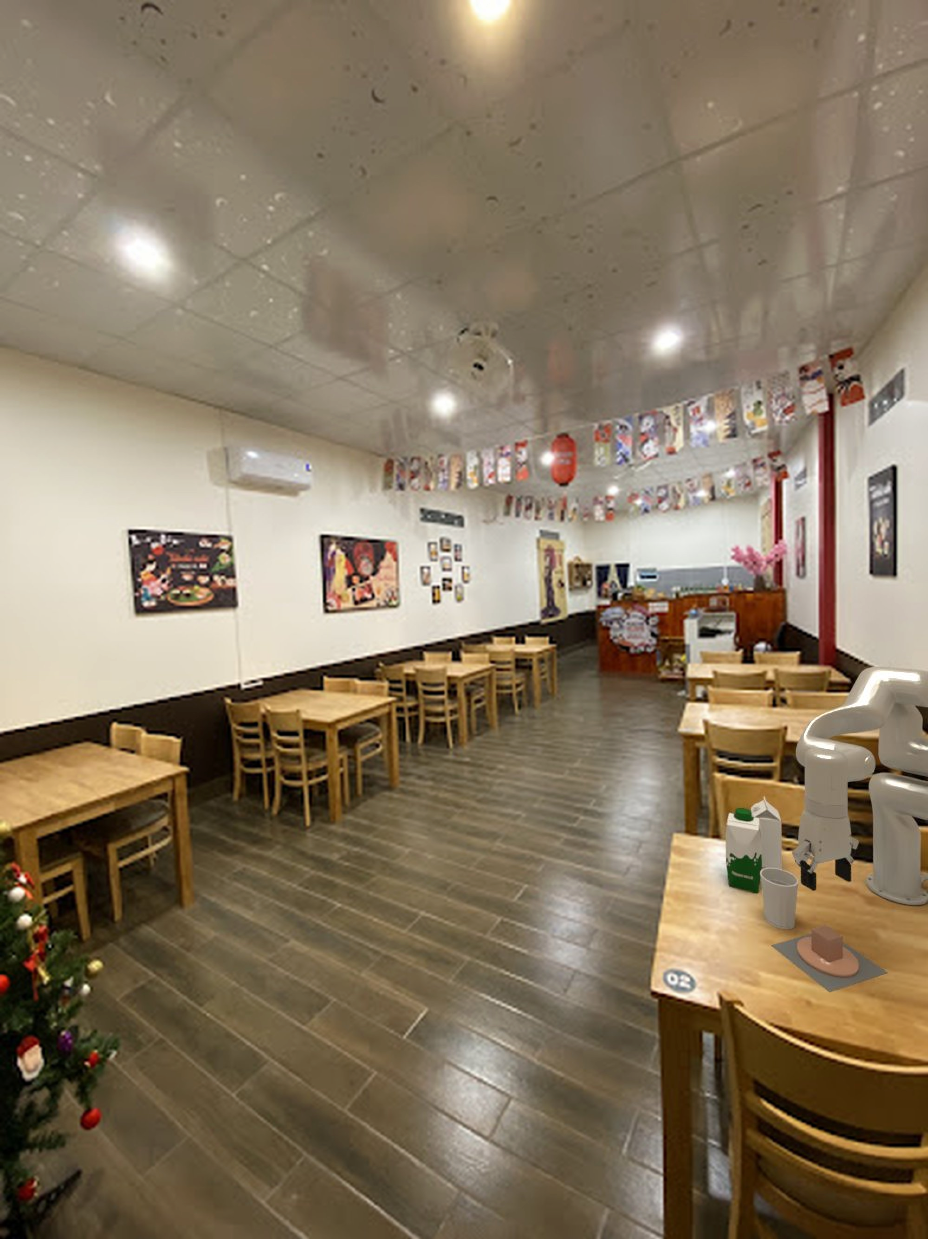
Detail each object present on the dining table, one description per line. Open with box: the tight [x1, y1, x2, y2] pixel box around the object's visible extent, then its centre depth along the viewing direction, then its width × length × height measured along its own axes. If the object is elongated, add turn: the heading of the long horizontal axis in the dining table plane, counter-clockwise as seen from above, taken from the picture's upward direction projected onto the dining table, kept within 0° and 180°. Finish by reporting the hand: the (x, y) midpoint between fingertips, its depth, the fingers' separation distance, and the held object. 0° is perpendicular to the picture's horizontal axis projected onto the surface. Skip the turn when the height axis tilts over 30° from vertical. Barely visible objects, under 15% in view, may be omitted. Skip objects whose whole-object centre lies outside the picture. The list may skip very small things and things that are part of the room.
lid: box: [797, 924, 859, 978], centre depth 110 cm, size 11×11×6 cm
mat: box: [770, 933, 889, 993], centre depth 110 cm, size 16×14×1 cm
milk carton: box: [750, 796, 783, 870], centre depth 149 cm, size 7×7×19 cm
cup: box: [760, 868, 799, 930], centre depth 123 cm, size 8×8×12 cm
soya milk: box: [724, 807, 763, 894], centre depth 139 cm, size 9×9×20 cm
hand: (825, 882), depth 109 cm, fingers open, 9 cm apart
